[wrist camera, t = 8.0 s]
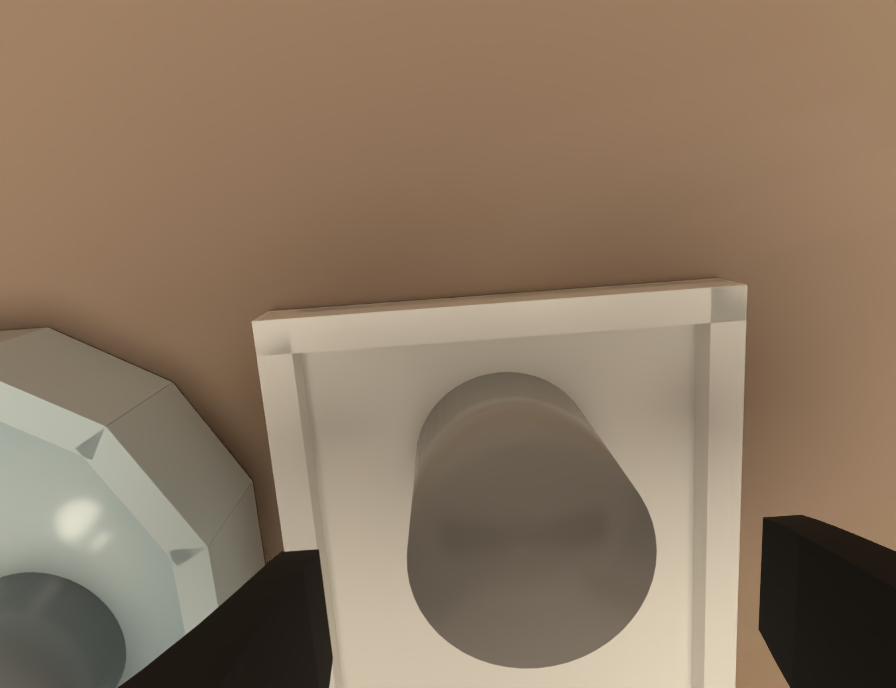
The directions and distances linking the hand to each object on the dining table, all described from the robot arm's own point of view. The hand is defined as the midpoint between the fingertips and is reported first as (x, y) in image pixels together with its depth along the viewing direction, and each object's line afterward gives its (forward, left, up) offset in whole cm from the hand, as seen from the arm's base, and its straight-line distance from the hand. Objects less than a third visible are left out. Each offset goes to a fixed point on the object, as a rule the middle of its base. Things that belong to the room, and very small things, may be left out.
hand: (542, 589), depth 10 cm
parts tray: (-4, 0, -6) cm, 7 cm away
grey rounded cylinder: (0, 0, -6) cm, 6 cm away
